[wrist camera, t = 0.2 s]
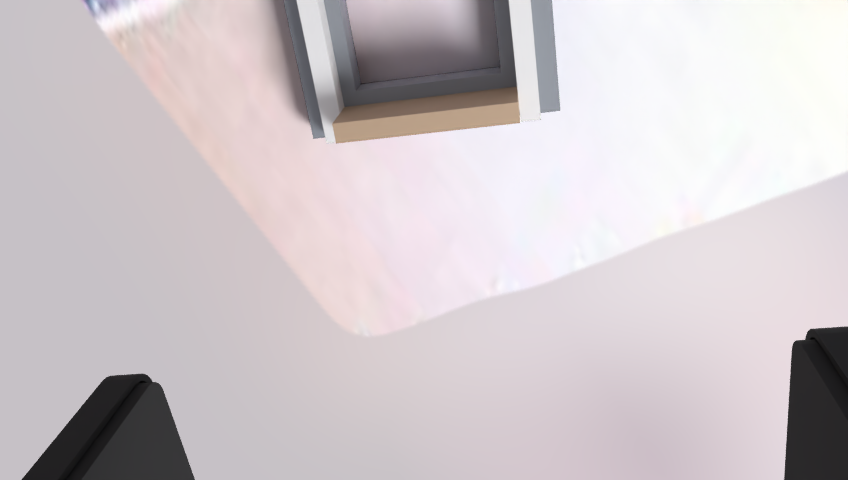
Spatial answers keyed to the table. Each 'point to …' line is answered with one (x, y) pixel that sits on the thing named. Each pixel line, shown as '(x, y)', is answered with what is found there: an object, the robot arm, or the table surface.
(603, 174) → the table surface
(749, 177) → the table surface
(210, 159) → the table surface
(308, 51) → the railed grey tray
